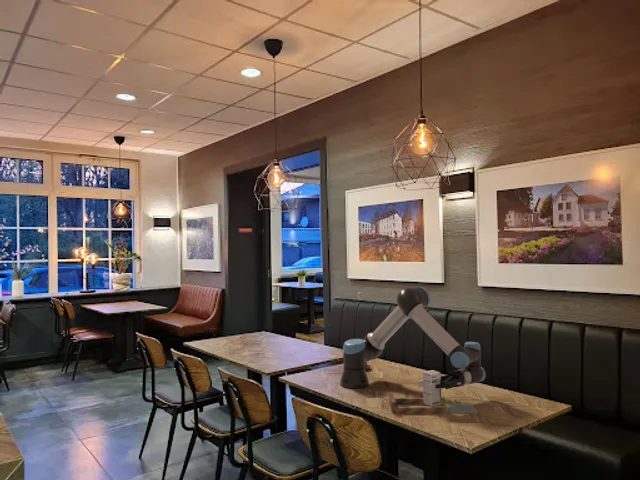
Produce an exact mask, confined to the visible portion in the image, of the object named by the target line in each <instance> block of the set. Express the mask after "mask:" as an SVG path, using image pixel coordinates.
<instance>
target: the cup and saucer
mask: <svg viewBox="0 0 640 480" xmlns="http://www.w3.org/2000/svg"><path fill="white" fill-rule="evenodd" d="M371 367H372V366H371V365H369V364H368V361H367V362H365V371H367V370H369V369H371Z"/></svg>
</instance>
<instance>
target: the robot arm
mask: <svg viewBox="0 0 640 480" xmlns="http://www.w3.org/2000/svg"><path fill="white" fill-rule="evenodd" d="M430 302H431V295H430V293H429V291H428V290H427V289H426V288H425V287H423V286H418V285H416V286H411V287H404V288H402V289H401V290H400V291H399V292H398V294H397V297H396V303H397V304H396V305H397V306H396V307H395V308H394V309H393V310H392V311H391V313H389V314H388V315H387V316H386V317H385V319H384V320H383V321H382V322H381V323H380V324H379V325H378V326H377V328H376V329H375V330H374V331H373V332H368V333H367V334H366V335H365V336H364V338H351V339H348V340H345V342H343V347H342V353H343V356H342V357H343V358H342V361H343V363H342V364H343V371H342V373H341V377H340V380H339V381H340V382H339V383H340V386H341V387H343V388H346V389H347V388H348V389H362V388H363V389H364V388H367V387H369V384H370V383H369V377H368V374H367V372H366V371H367V370H365V362H367V363H368V362H369V361H373V360H376V359H378V358H379V357H380V356H381V355H382V353H383V350H384V349H385V344H386V343H387V342H388V341H389V340H390V338H391V337H393V335H394V334H395V333H396V332H397V331H398V330H399V329H400V328H401V327H402V326H403V325H404V323H406V321H408V320H409V319H412V321H414V323H416V324H417V326H418V327H420V328H421V330H422V331H423V332H424V333H426V335H427V336H428V337H429V338H430V339H431V340H432V341H433V342H434V343H435V344H436V345H437V346H438V347H439V348H440V349H441V350H442V351H443V352H444V353H445V355H447V356H448V357H449V359H450V363H451V365H452V367H454V368H455V369H456V370H451V371H449V373H448V374H445V375H441V384H440V382H436V383H432V384H429V390H430V391H431V390H435V389H440V388H441V390H442V389H444V390H449V389H453V388H459V387H465V386H468V385H473V384H477V383H480V382H483V381H484V380H485V379H486V377H487V375H486V371H485V368H484V367H482V363H481V362H482V361H481V360H482V359H481V358H482V356H481V351H482V349H481V344H480V343H479V342H476V341H465V342H464V346H463V347H462V345H461V344H460V343H459V342H457V340H456V339H455V338H454V337H453V336H452V335H450V333H449V332H447V331H446V330H445V328H444V327H442V325H440V323H439V322H437V320H435V319H434V317H432V315H430V313H429V312H427V310H426V308H427V307H428V306H429V305H430ZM421 387H422V388H423V379H419V380H417V388H421Z"/></svg>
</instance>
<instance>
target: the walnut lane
mask: <svg viewBox="0 0 640 480" xmlns="http://www.w3.org/2000/svg"><path fill="white" fill-rule="evenodd" d="M388 397H389V398H388V400H389V401H388V403H389V406H390V409H391V413H392V414H399V415H402V414H407V415H408V414H409V415H410V414H411V415H412V414H413V415H417V414H418V415H419V414H420V415H447V410H448V408H447V407H446V406H410V405H426V404H425V403H424V400H423V397H395V396H394V392H391V391H390V392H389V393H388Z"/></svg>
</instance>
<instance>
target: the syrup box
mask: <svg viewBox="0 0 640 480" xmlns="http://www.w3.org/2000/svg"><path fill="white" fill-rule="evenodd" d="M441 376H442V375H441V372H440V371H438V370H433V369H431V370H428V371H422V380H423V386H422V391H423V395H422V396H423V397H422V398H423V400H424V403H425V404H424V405H427V406H428V407H436V406H441V405H442V388H440V389H435V390H431V391H430V390H429V384H432V383H436V382H440V384H441Z"/></svg>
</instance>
